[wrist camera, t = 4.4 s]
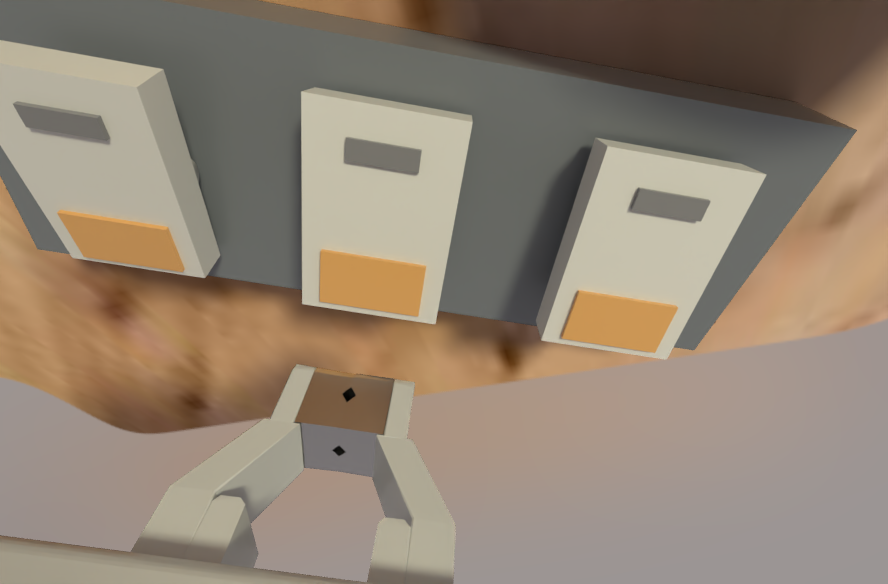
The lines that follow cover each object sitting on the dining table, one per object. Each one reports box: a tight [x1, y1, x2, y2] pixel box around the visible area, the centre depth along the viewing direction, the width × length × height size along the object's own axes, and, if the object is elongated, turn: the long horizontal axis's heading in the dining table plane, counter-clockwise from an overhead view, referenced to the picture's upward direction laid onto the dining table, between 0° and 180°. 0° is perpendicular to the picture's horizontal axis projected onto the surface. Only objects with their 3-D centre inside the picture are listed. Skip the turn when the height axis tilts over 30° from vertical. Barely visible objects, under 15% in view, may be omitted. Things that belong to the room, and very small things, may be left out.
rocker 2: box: [301, 87, 473, 324], centre depth 13 cm, size 4×6×2 cm
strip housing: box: [0, 0, 857, 350], centre depth 15 cm, size 26×9×3 cm, turn 81°
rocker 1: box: [0, 40, 220, 278], centre depth 13 cm, size 4×6×2 cm
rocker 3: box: [536, 138, 766, 360], centre depth 14 cm, size 4×6×2 cm
